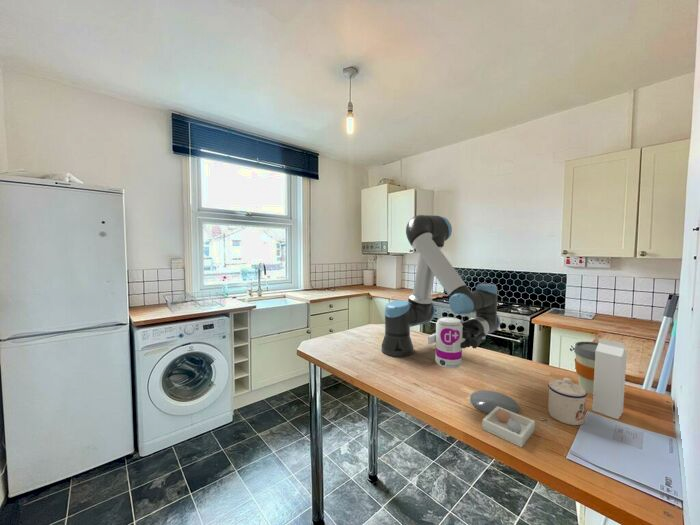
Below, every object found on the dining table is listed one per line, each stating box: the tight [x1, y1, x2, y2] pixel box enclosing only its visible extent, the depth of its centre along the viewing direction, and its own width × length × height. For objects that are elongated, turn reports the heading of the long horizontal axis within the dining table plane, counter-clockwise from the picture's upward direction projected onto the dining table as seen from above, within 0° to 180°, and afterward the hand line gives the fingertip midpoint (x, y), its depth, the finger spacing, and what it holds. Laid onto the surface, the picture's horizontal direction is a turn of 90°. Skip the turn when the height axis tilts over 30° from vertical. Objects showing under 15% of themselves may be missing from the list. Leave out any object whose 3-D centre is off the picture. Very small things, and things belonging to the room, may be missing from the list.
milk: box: [592, 338, 628, 420], centre depth 88 cm, size 6×6×22 cm
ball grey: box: [508, 420, 521, 434], centre depth 78 cm, size 3×3×3 cm
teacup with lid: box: [547, 377, 588, 426], centre depth 87 cm, size 12×9×12 cm
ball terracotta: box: [497, 410, 509, 422], centre depth 83 cm, size 3×3×3 cm
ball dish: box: [481, 406, 536, 448], centre depth 81 cm, size 10×10×3 cm
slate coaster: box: [469, 389, 520, 415], centre depth 94 cm, size 14×14×1 cm
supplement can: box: [435, 316, 463, 370], centre depth 97 cm, size 8×8×15 cm
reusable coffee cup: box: [573, 341, 599, 395], centre depth 101 cm, size 12×13×15 cm
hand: (441, 343), depth 93 cm, fingers closed on supplement can, 8 cm apart
